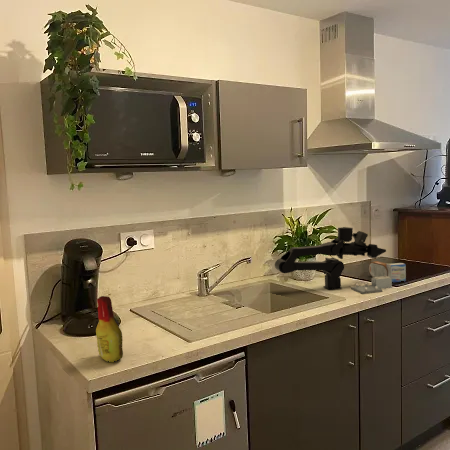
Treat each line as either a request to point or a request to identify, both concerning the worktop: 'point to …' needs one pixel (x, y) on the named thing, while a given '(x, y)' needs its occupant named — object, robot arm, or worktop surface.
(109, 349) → the bottle
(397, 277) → the medicine box
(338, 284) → the robot arm
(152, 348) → the worktop surface
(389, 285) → the block
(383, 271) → the tin
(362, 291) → the tray
